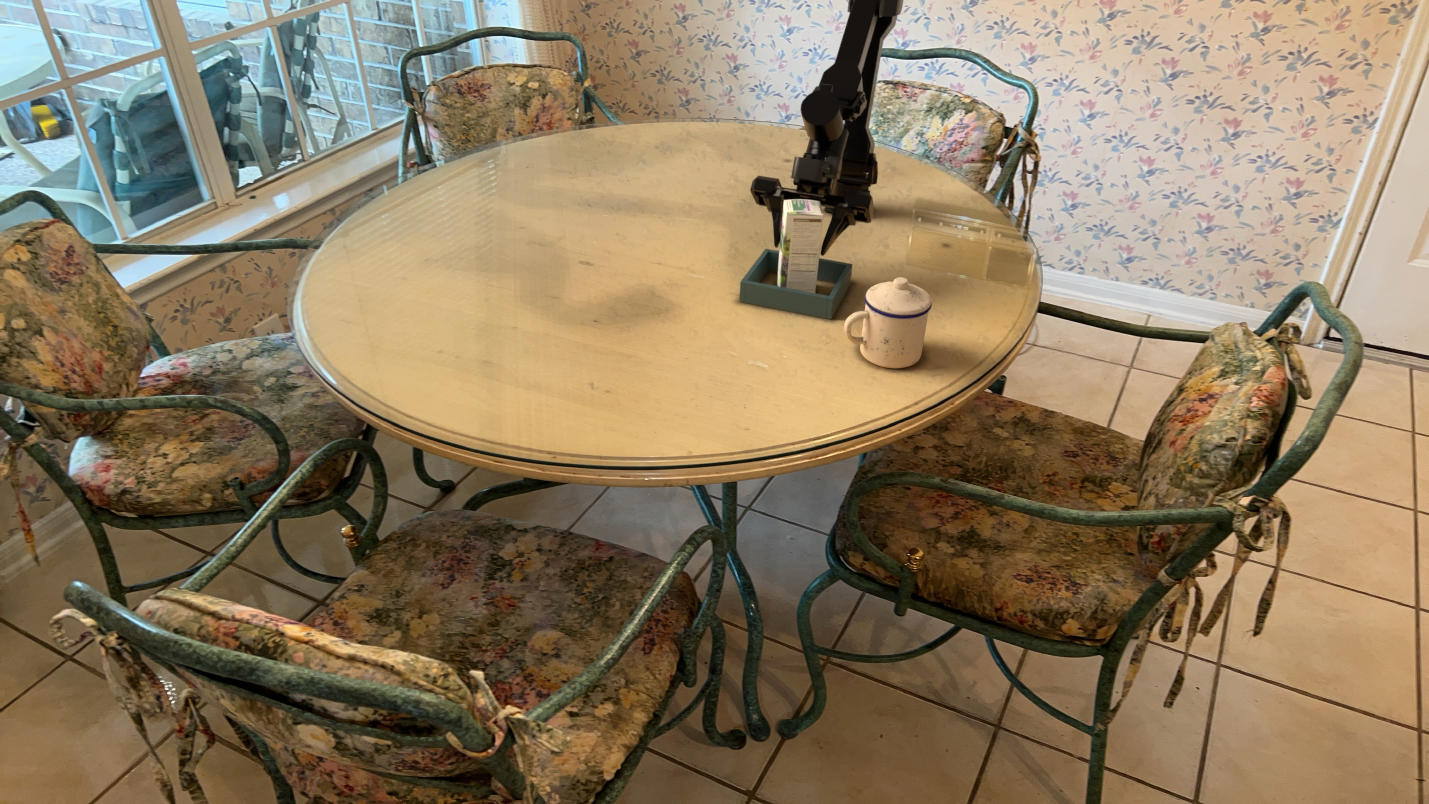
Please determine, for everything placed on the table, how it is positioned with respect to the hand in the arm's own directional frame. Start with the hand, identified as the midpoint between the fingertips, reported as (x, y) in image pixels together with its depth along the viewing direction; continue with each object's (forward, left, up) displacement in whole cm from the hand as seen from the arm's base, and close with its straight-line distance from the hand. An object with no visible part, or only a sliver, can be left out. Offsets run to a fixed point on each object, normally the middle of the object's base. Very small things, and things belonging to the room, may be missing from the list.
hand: (798, 250), depth 138 cm
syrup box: (0, 0, -8) cm, 8 cm away
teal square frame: (0, 0, -7) cm, 7 cm away
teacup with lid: (+20, -6, -8) cm, 22 cm away
